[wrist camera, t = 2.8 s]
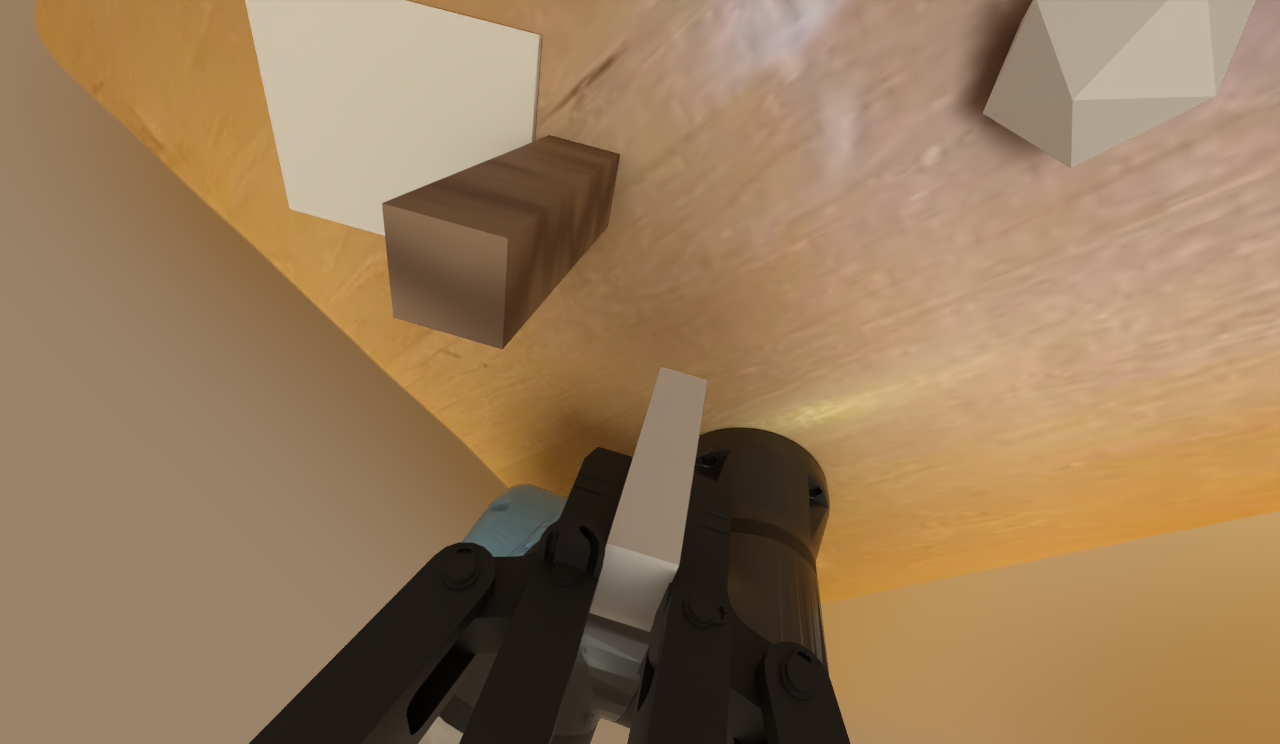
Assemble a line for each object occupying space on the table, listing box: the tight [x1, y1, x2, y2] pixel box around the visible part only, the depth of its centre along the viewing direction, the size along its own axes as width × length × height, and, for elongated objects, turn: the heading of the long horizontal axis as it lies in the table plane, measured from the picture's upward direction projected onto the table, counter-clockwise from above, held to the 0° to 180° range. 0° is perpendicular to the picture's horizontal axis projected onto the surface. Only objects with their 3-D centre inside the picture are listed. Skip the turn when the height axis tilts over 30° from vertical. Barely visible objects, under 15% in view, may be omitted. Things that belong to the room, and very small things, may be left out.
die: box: [983, 0, 1256, 168], centre depth 23 cm, size 8×9×10 cm
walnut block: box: [382, 135, 620, 349], centre depth 27 cm, size 5×5×18 cm
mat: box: [245, 0, 542, 236], centre depth 35 cm, size 16×20×1 cm
